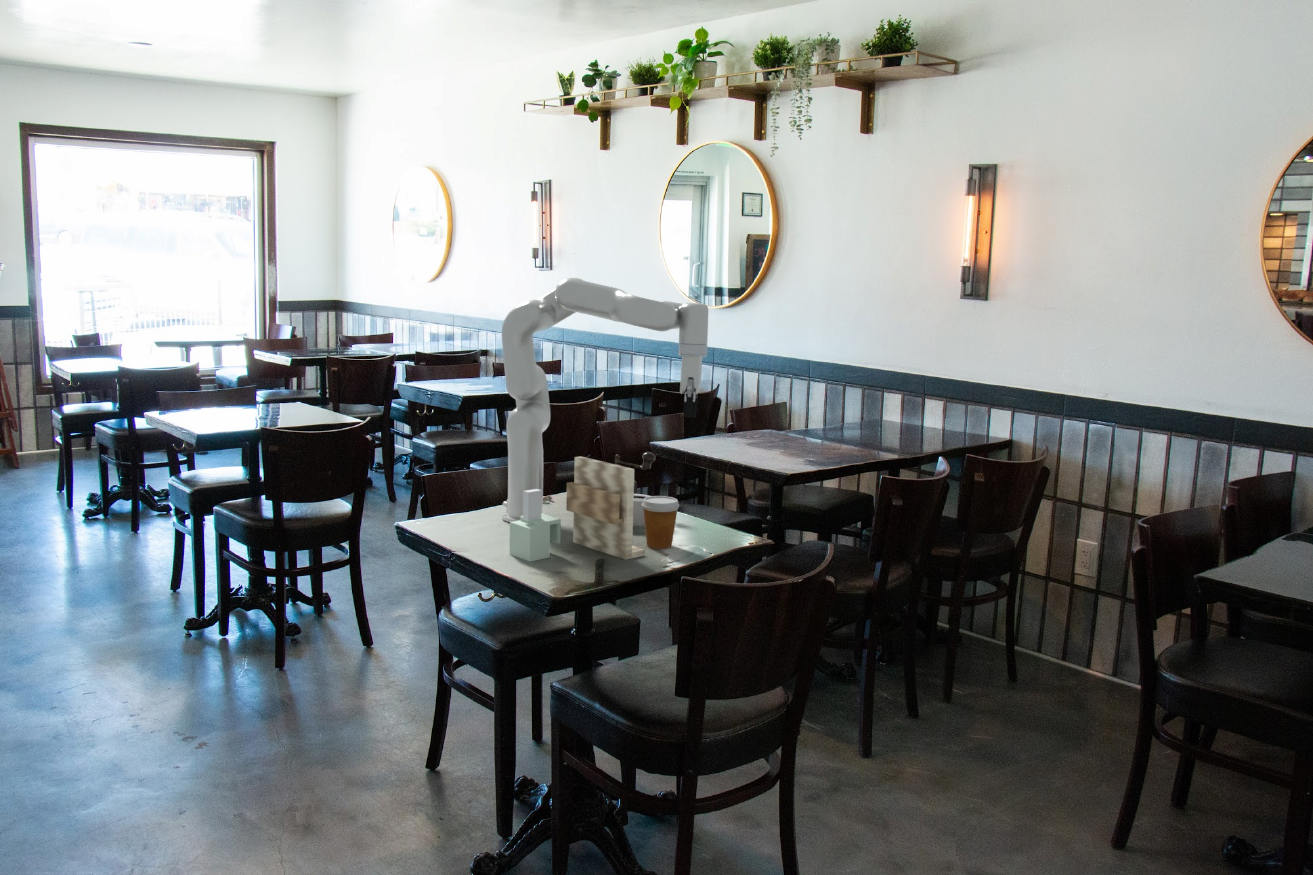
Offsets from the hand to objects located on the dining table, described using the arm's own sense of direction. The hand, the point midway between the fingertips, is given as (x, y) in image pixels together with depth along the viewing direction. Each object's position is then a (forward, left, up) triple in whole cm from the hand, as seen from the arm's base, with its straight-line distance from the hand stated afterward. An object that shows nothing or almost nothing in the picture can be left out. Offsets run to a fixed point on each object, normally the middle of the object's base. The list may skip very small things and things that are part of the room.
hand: (690, 414), depth 276 cm
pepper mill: (-24, -1, -31) cm, 40 cm away
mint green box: (-4, -48, -31) cm, 57 cm away
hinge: (-11, -9, -32) cm, 35 cm away
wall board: (+3, -32, -31) cm, 45 cm away
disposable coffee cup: (+9, -18, -31) cm, 37 cm away
